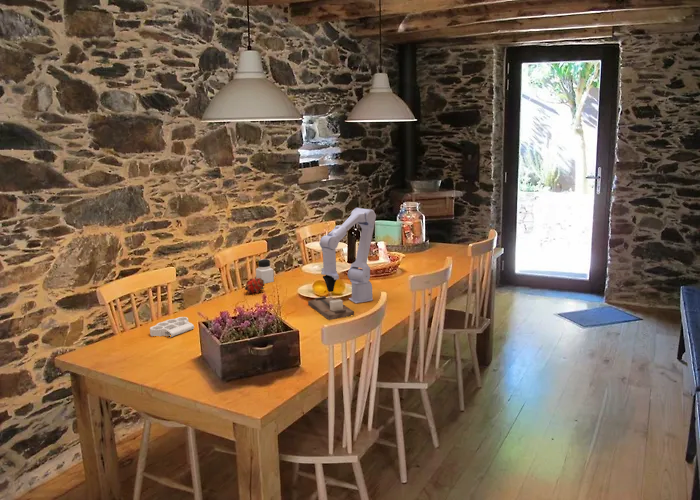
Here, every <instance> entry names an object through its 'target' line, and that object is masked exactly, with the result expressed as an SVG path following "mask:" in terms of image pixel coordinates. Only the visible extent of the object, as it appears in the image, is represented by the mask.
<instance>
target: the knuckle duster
mask: <svg viewBox="0 0 700 500" xmlns="http://www.w3.org/2000/svg"><path fill="white" fill-rule="evenodd" d="M194 325H195V324H193V323H192V322H190V321H189V317H187V316H179V317H176V318H170V319H166V320H164V321H160V322H158V323H156V324H155V325H153V326H150V327H149V334H150V337H153V336H159V337H167V336H170V335H171V337H170V338H173V337H176V336H177V335H182V334H183V333H186V332H188V331H191V330H193V329H195V326H194Z"/></svg>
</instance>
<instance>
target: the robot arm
mask: <svg viewBox="0 0 700 500" xmlns="http://www.w3.org/2000/svg"><path fill="white" fill-rule="evenodd" d="M376 218H377V214H376V213H375V211H374V209H371V208H362V207H355V208H354V209H353V210H352V211H351V213H350V216H349V217H348V218H347V219H346V220H345V221H344V222H343V223H342V224H340V225H336V226H335V227H333V229H332V230H331V231H329V232H328V234H327V235H323V236H322V237H320V240H319V242H318V243H319V246H320V248H321V252H322V263H323V264H322V265H323V267H322V268H321V271H320V272H321V273H320V274H321V275H323V276H322V278H323V280H324V282H325V285H326V288H327V289H326V290H327V292H329V293H331V292H334V289H335V285H336V283H337V280H340V279H339V278H340V275H339V274H338V271H337V260H336V259H337V255H336V253H337V252H336V249H337V248H338V246H339V243H340V241H341V240H342V239H344V237H345V236H347V231H349V229H351V228H352V227H353V226H355V225H356V224H357V225H359V226H360V228H361V233H360V238H359V242H358V247H357V252H356V258H355V261H354V262H352V263H351V264H350V267H349V269H348V271H347V278H348V280H349V282H350V283H351V297H348V300H350V301H351V302H353V303H355V304H360V303H366V302H372V301H374V299H373V284H372V282H371V281H370V278H371V268H370V265H368V264H367V263H368V258H369V253H370V249H371V244H372V239H373V234H374V229H375V223H376Z"/></svg>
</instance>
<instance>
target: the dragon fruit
mask: <svg viewBox="0 0 700 500" xmlns="http://www.w3.org/2000/svg"><path fill="white" fill-rule="evenodd" d="M265 288H266V287H265V284H264V280H262V279H261V278H256V276H254V278H250V279H249V280H247V281H246V283H245V287H244V290H245V291H247V294H250V295H251V294H254V293H256V294H258V293H259V292H261V290H264V289H265Z"/></svg>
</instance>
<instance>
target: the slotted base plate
mask: <svg viewBox="0 0 700 500" xmlns="http://www.w3.org/2000/svg"><path fill="white" fill-rule="evenodd" d="M332 300H336V299H335V298H334V297H332V296H329V297H326V296H325V295H324V296H320V297H315V299H312V300H307V304H308V306H309V307H310V308H312V309H313V310H315V311H316V312H317V313H318V314H320V315H321V316H323V318H325V319H327V320H329V321H331V320H332V321H333V320H337V319H342V318H347V317H346V316H348V317H351V315H353V316H354V315H355V314H354V310H353V309H351V308H350V307H348V306H347V305H345V304H343V310H337V311H332V310H330V301H332Z"/></svg>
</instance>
